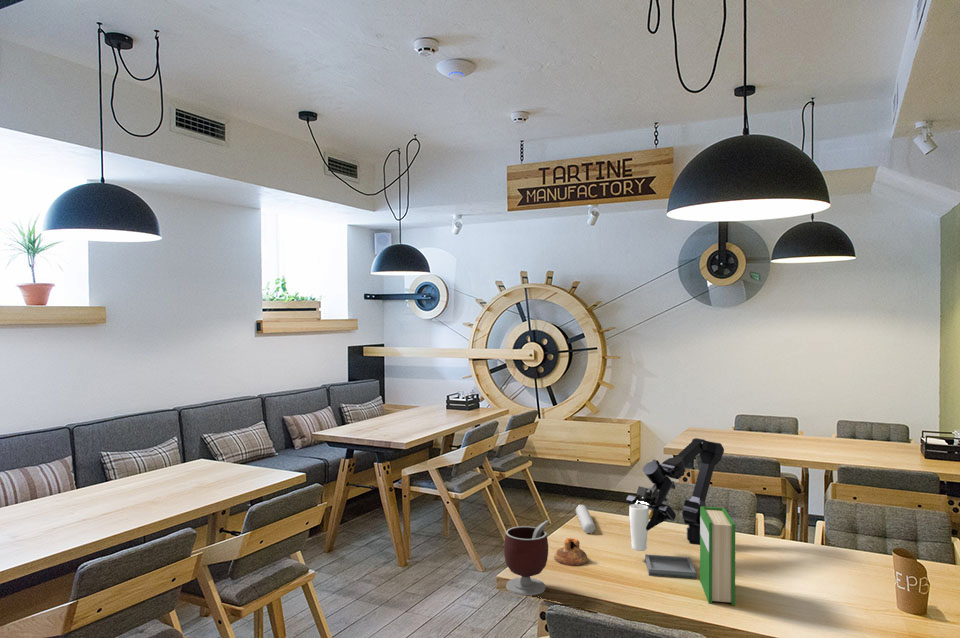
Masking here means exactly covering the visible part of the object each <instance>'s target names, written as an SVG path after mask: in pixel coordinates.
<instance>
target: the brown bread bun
mask: <svg viewBox="0 0 960 638" xmlns="http://www.w3.org/2000/svg"><path fill="white" fill-rule="evenodd" d="M553 558H554V561H555V562H557V563H558V564H561V565H563V566H569V567H570V566H571V567H573V566H575V567H576V566H577V567H578V566H582V565H585V564H587V562H588V559H589V558H588V555H587V553H586V552H585V551H584V550H583V549H581V548H580V540H579V539H577V538H573V537H569V538H565V540H564V546H563V547H560V548H558V549H557V550H556V552H555V553H554V556H553Z"/></svg>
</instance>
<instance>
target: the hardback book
mask: <svg viewBox="0 0 960 638" xmlns="http://www.w3.org/2000/svg"><path fill="white" fill-rule="evenodd" d="M699 582H700V585H701V587H702V590H703V592H704V595H705V597H706V600H707V603H708V604H709V605H712V604H713V602H720V603H730V605H731V606H732V607H735V606H736V524H735V521H734V520H733V519H732V517H731V515H730V514H729V513H728V511H727V510H726V509H725V507H717V506H716V507H714V506H706V507H702V506H700V544H699Z"/></svg>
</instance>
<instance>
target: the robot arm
mask: <svg viewBox="0 0 960 638" xmlns="http://www.w3.org/2000/svg"><path fill="white" fill-rule="evenodd" d="M724 452H725V449H724V446H723V444H722V443H720V442H715V441H710V440H706V439H703V438H697V437H695V438H692V440H691V442H690V443H689V444H687V445H686V447H684V448H683V449H682V450H681V451H680V452H679V453H678V454H677V455H676V456H673V457H670V458H668V459H666V460H664V461H663V462H661V463H660V461H659V460H657V459H652V461H649V462H647V463H646V464H644V466H643V467H642V472H643V473H644V475H645V476H646V477H647V480H649V481H650V482H651V483H652V484H653V485H652V487H648V488H647V487H645V486H640V485H638V487H637V491H636V495H637V496H636V495H633V494H629V495H627V496H626V499H625V502H627V504H628V505H629V506H630V505H632V504H642V505H646V506H648V507H649V511H652V516H651V517H650V518H649V523H648V525H647V527H646V530H648V531H650V530H651V529H653V528H655V527H656V526H657V525H659V524H662V523H663V522H668V521H672V522H674V521H675V519H676V518H677V514H676V512H675V511H674V509H673V508H672V507H671V506H670V505H668V504H664V502H667V501H668V499H667V495H669V492H670V490H672V489H673V490H676V485H675V481H673V480H671V479H675V480H679V479H680V478H682V476H683V475H684V473H685V472H686V467H687V466H688V465H689V464H690V463H691V462H692V461H693V460H694V459H696V457H697V456H699V458H700V466H699V470H698V473H697V477H696V481H695V484H694V489H693V492H692V495H691V498H690V499H685V500H684V504H683V507H682V509H681V510H682V513H681V514H682V515H681V516H682V519H683V522H684V524H686V525H687V527H686V539H687V541H688V542H689V544H693V543H694V545H696V544H697V545H700V506H702V507H707V505H706V499H707V496H708V491H709V488H710V484H711V481H712V477H713V473H714V470H715V466H717V464H718V463H720V462H721V461H722V458H723V455H724ZM639 496H640V497H641V499H640V498H639Z"/></svg>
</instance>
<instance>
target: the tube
mask: <svg viewBox="0 0 960 638" xmlns="http://www.w3.org/2000/svg"><path fill="white" fill-rule="evenodd" d="M575 514H576V516H577V518H578V520H579V521H578V522H579V523H580V526H581V529H582V531H583V532H584V533H585V534H587V533H592V534H593V533H595V531H596V525H595V523H594V521H593V518H592V515H591V514H590V511H589V509H588V507H587V506H586V505H584V504H578V506H576V507H575Z"/></svg>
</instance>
